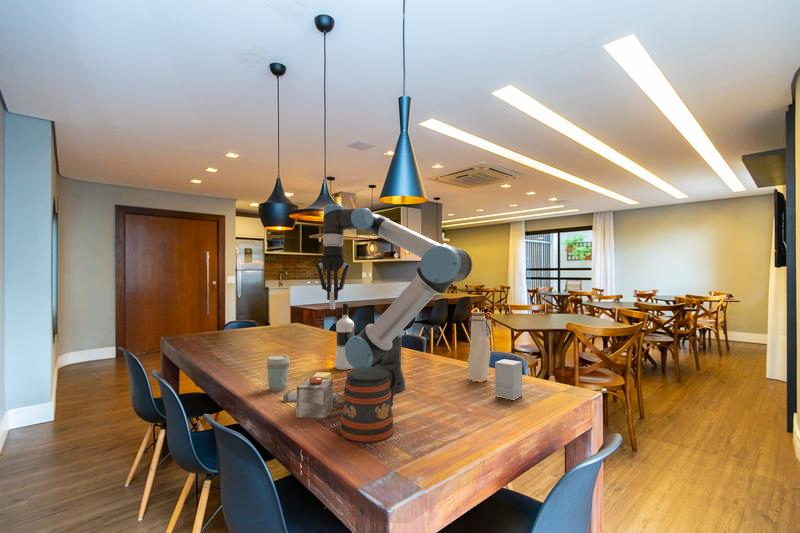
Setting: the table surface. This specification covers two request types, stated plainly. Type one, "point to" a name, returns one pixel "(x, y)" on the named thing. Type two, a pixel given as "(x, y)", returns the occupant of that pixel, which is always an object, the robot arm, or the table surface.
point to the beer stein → (369, 402)
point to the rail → (293, 397)
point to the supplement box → (508, 378)
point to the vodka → (343, 339)
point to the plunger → (315, 380)
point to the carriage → (323, 375)
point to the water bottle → (479, 347)
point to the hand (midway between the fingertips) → (332, 308)
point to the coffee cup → (277, 372)
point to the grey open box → (314, 399)
